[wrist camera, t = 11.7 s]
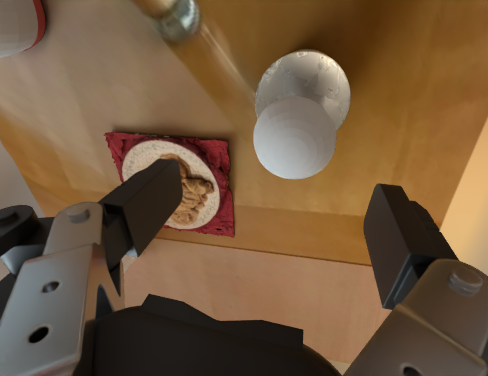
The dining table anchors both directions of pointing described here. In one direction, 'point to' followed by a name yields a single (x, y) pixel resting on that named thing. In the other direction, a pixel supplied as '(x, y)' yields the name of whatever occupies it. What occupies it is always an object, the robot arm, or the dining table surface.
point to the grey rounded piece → (306, 83)
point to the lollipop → (294, 137)
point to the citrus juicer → (20, 25)
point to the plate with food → (183, 177)
